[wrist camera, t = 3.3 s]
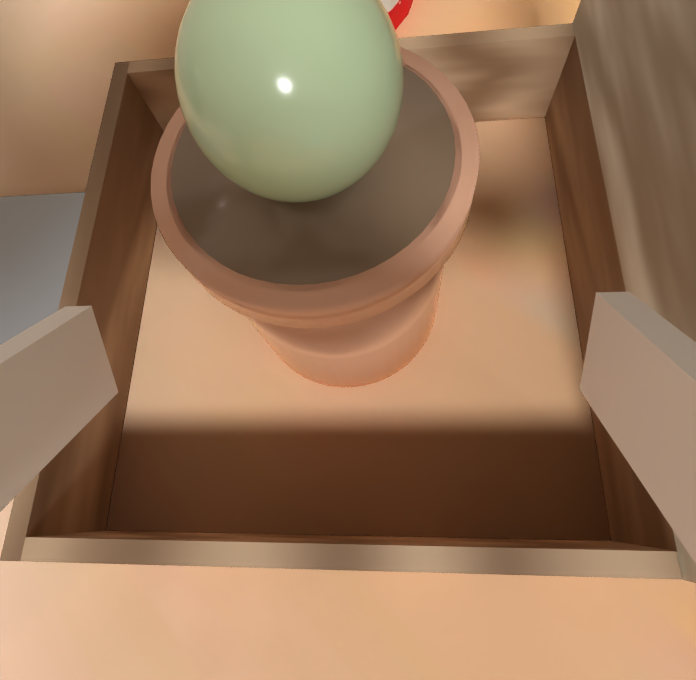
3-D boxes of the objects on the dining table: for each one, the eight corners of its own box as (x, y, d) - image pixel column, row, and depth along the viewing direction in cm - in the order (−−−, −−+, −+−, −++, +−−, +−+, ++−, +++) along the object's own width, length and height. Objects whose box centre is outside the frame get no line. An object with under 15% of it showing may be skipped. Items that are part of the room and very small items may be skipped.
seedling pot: (234, 254, 26) (4, -95, 11) (404, 196, 26) (410, -231, 11) (282, 425, 23) (43, 262, 8) (477, 357, 23) (631, 61, 8)
